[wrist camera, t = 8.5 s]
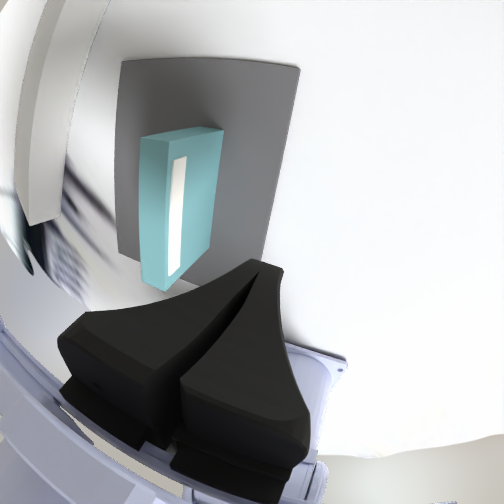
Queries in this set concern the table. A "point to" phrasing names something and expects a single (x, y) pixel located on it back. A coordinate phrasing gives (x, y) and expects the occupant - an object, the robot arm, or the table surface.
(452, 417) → the table surface
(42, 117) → the bevelled gray strip
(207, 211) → the card box
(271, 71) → the mat
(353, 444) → the table surface
